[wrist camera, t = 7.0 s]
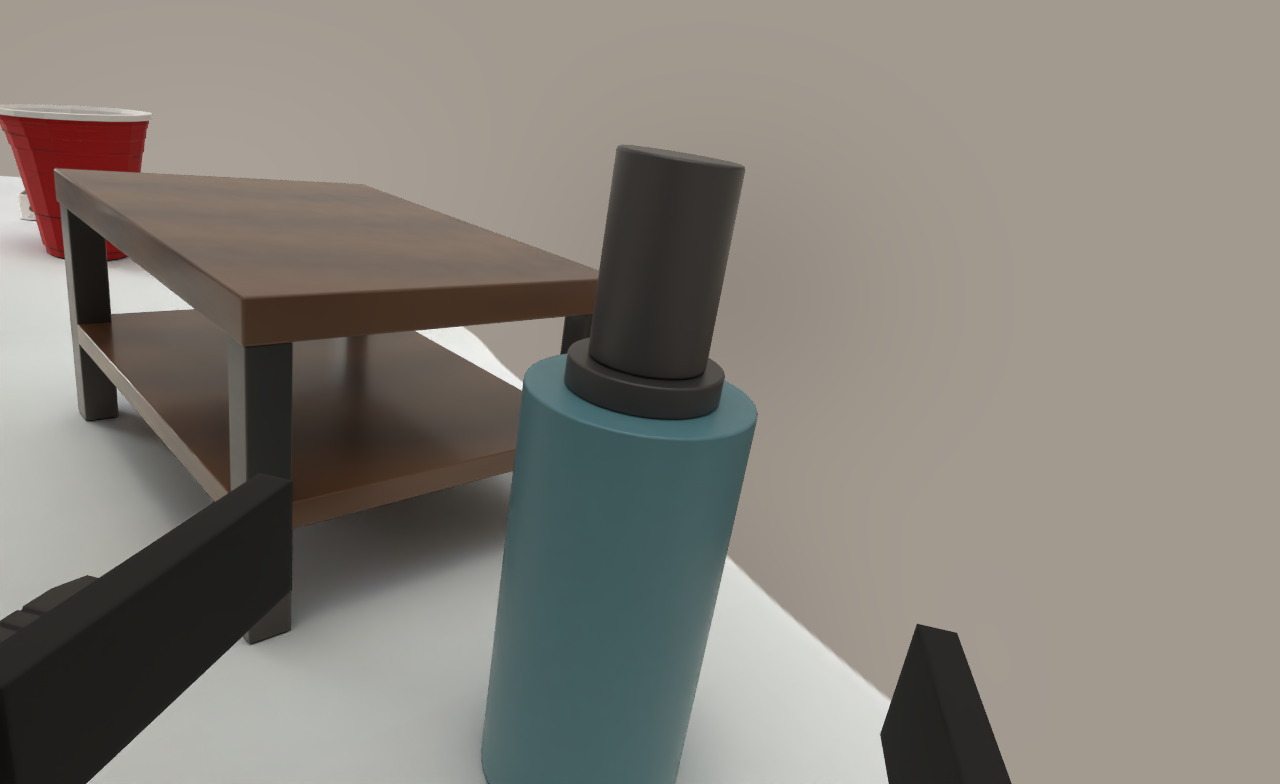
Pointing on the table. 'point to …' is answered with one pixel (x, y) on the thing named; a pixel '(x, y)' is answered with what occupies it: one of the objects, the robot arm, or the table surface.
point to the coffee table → (305, 334)
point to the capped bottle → (622, 497)
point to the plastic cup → (70, 153)
